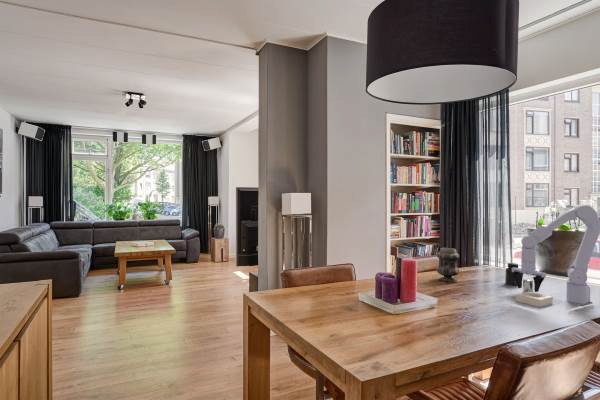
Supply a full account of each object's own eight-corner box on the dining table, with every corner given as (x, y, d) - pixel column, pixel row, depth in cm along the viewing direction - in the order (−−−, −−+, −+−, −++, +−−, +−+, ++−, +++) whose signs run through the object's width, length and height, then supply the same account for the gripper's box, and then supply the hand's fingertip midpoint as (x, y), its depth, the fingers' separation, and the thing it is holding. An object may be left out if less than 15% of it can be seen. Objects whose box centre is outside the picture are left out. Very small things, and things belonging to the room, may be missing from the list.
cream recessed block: (524, 294, 176) (524, 285, 176) (565, 303, 161) (565, 294, 161) (499, 299, 167) (499, 290, 167) (541, 310, 151) (541, 300, 151)
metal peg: (526, 293, 174) (526, 278, 174) (534, 295, 170) (535, 280, 170) (521, 294, 172) (521, 279, 172) (530, 296, 168) (530, 281, 168)
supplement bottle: (519, 288, 188) (519, 265, 187) (504, 286, 192) (504, 263, 192) (520, 285, 193) (521, 263, 193) (506, 283, 197) (506, 262, 197)
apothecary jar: (460, 279, 206) (461, 248, 206) (457, 284, 196) (457, 250, 196) (438, 277, 213) (438, 246, 212) (434, 281, 202) (434, 249, 202)
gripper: (508, 259, 175) (507, 287, 175) (540, 264, 163) (539, 294, 163) (516, 258, 179) (516, 285, 179) (548, 263, 166) (548, 292, 166)
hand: (528, 289), depth 171 cm, fingers open, 7 cm apart
